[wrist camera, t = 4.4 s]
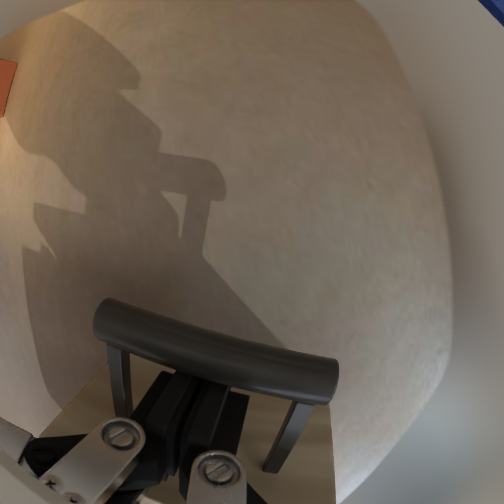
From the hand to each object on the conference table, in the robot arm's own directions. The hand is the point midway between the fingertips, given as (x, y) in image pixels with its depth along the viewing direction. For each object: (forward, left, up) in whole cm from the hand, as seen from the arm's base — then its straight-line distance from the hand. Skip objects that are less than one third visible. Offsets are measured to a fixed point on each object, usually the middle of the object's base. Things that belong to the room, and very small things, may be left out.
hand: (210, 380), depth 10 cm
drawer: (+6, +2, -3) cm, 7 cm away
